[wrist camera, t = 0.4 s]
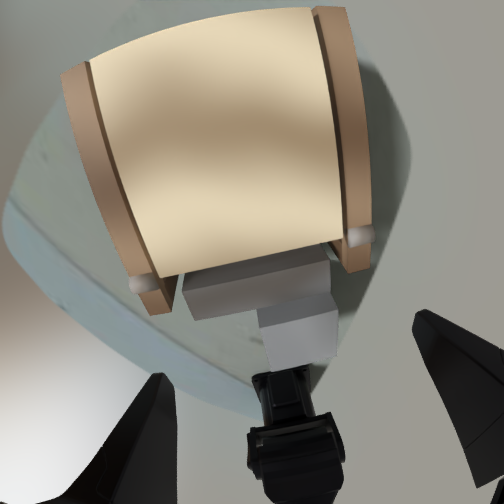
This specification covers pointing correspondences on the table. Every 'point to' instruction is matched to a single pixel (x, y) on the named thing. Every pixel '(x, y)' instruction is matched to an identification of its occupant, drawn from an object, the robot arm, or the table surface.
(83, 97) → the frame
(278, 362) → the light grey block
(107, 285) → the table surface
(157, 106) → the trapdoor
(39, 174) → the table surface
